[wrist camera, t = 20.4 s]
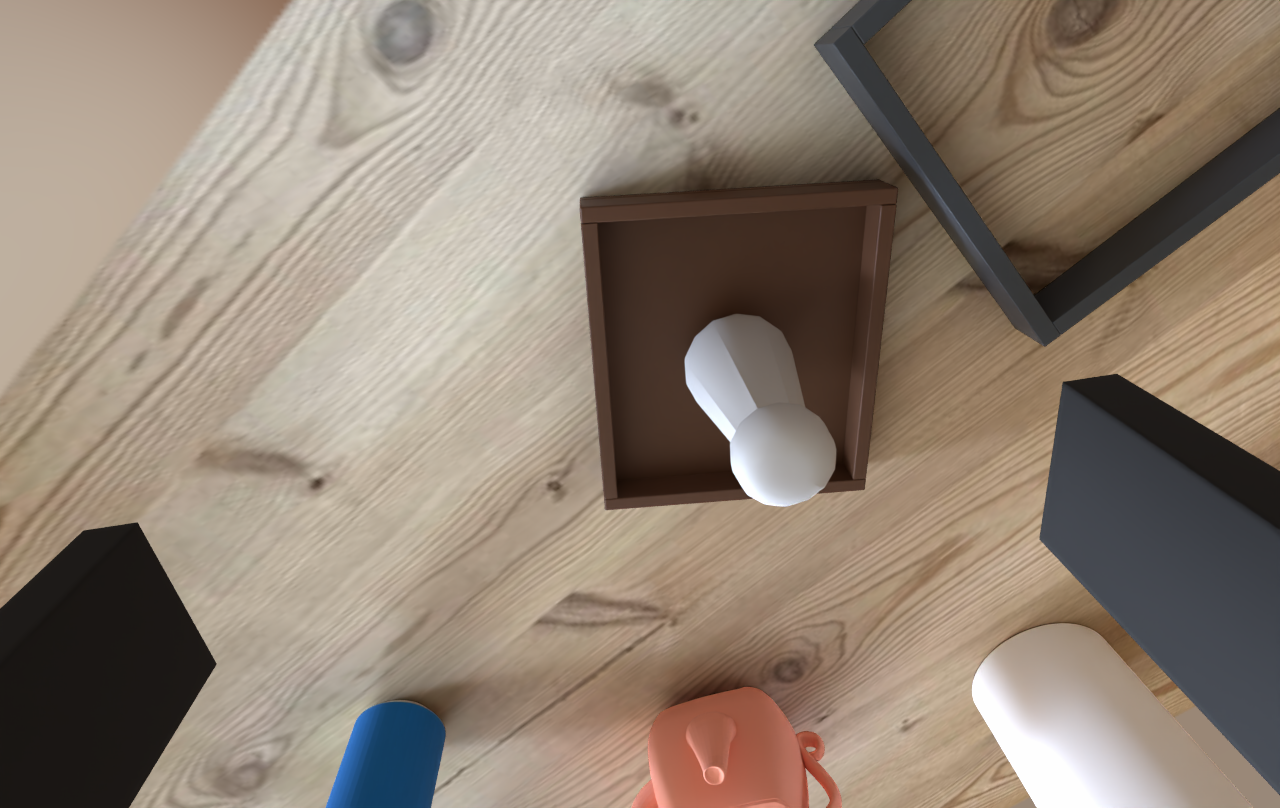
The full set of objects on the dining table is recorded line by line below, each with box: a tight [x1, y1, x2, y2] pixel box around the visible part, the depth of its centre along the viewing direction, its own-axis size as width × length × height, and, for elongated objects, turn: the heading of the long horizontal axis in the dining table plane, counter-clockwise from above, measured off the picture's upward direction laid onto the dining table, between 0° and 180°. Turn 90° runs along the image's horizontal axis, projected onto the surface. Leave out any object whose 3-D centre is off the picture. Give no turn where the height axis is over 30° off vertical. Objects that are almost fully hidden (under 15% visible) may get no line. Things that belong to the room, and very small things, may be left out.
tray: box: [580, 180, 898, 510], centre depth 39 cm, size 18×16×3 cm
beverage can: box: [326, 700, 446, 808], centre depth 46 cm, size 6×6×12 cm
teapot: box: [632, 687, 842, 808], centre depth 49 cm, size 14×14×11 cm
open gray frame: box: [814, 0, 1280, 347], centre depth 33 cm, size 20×20×3 cm
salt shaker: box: [685, 314, 836, 507], centre depth 34 cm, size 6×6×13 cm
